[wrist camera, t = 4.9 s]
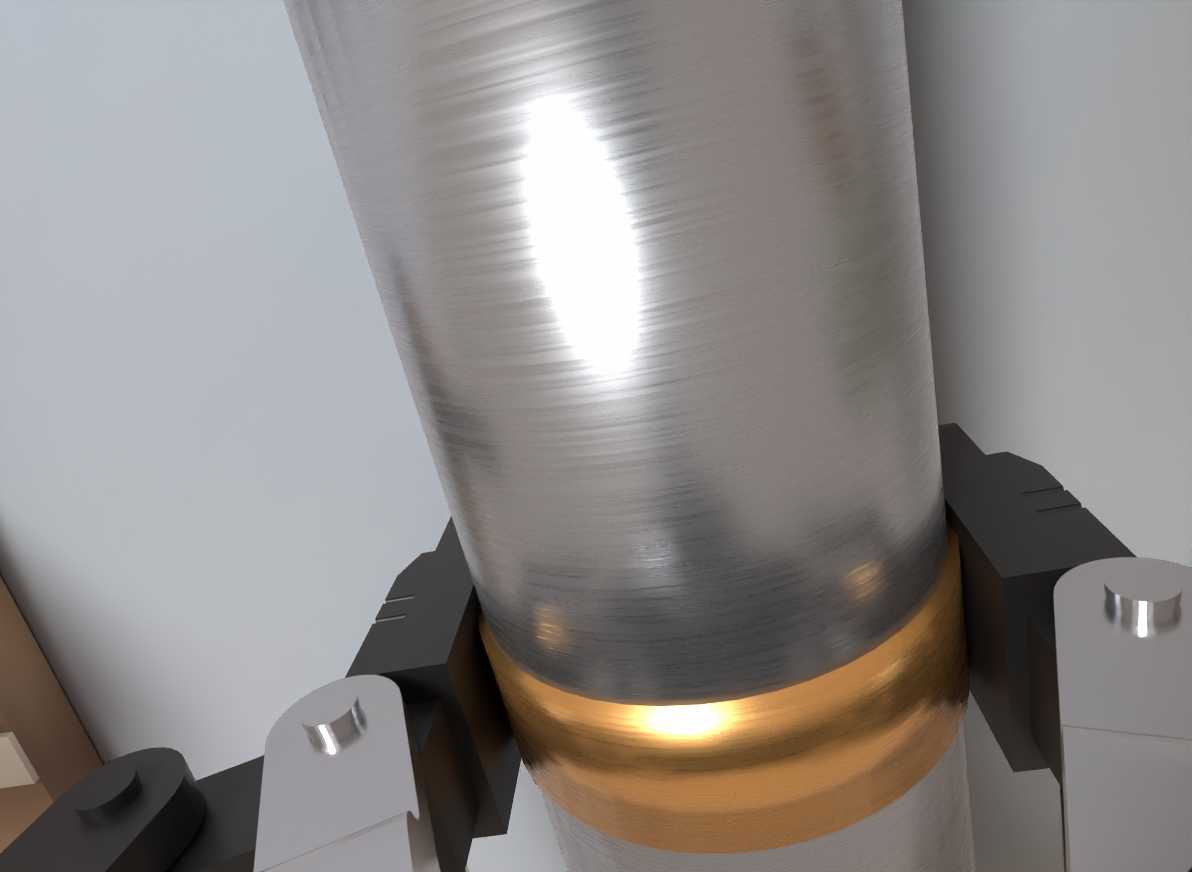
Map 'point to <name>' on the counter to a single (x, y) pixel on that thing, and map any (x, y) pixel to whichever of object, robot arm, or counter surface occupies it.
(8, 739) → the cradle stand
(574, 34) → the tube
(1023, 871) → the counter surface
